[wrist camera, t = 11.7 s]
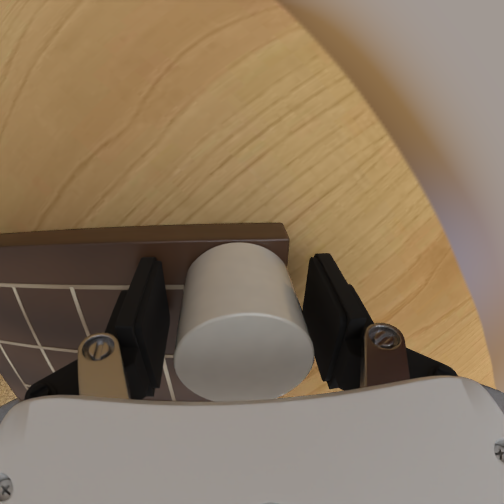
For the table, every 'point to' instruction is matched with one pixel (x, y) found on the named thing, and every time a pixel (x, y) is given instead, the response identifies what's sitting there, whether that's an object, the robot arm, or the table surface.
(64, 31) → the table surface
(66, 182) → the table surface
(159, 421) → the robot arm
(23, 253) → the board
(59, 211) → the table surface
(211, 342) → the white canister
